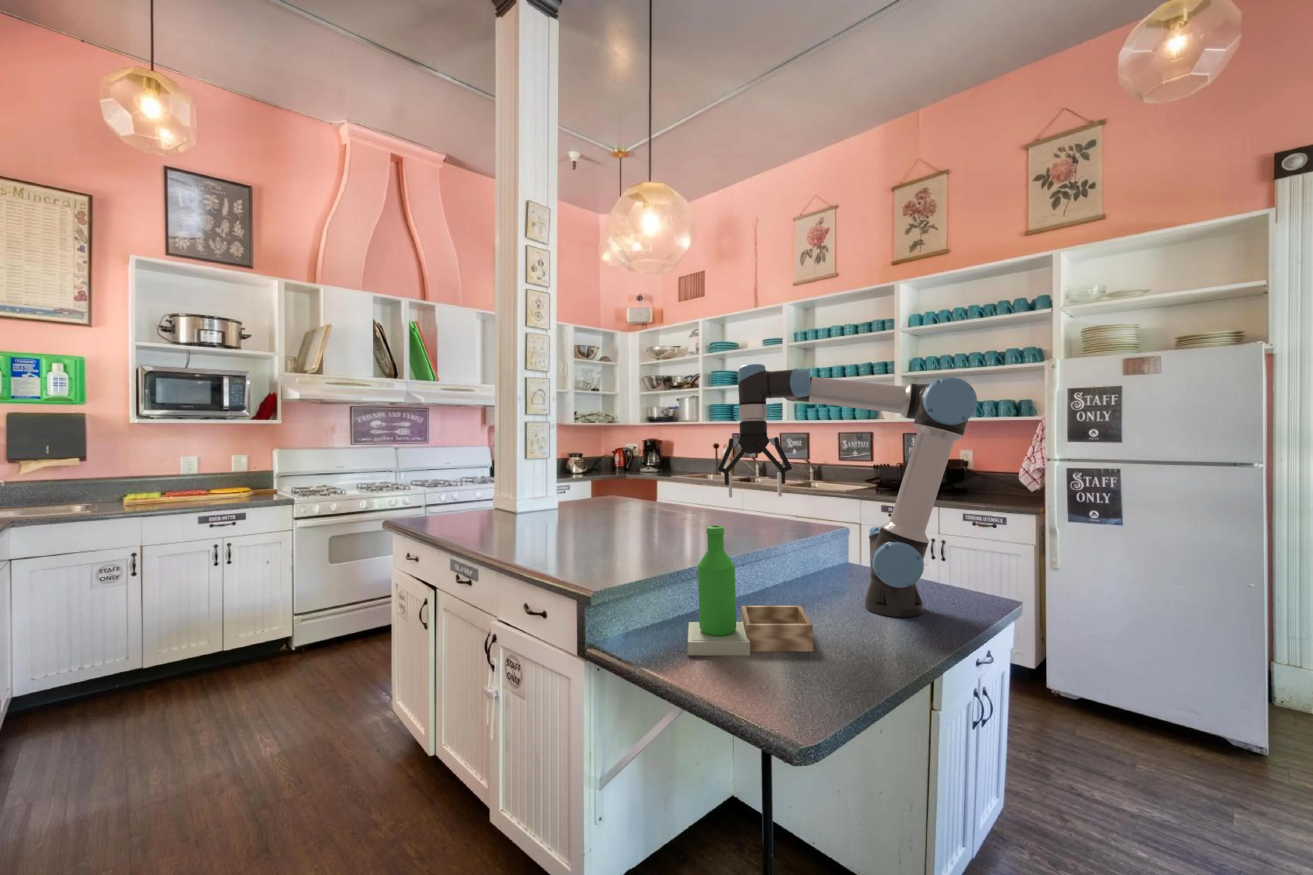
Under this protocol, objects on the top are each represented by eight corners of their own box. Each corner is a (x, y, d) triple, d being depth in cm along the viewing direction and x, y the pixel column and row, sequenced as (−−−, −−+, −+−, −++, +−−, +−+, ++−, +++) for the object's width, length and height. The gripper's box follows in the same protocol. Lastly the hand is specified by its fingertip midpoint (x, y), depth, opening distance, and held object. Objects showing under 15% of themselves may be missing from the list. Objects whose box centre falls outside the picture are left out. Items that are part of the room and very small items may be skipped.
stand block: (745, 633, 140) (744, 621, 140) (750, 655, 126) (749, 641, 126) (689, 633, 141) (688, 621, 141) (688, 655, 127) (687, 641, 127)
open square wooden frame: (801, 629, 142) (800, 605, 142) (813, 651, 127) (812, 625, 127) (741, 629, 143) (741, 605, 143) (747, 651, 128) (746, 625, 129)
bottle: (724, 639, 127) (721, 530, 127) (692, 632, 133) (689, 527, 133) (743, 628, 134) (740, 525, 135) (712, 622, 140) (709, 522, 140)
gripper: (796, 419, 159) (798, 494, 159) (707, 422, 161) (709, 495, 160) (800, 418, 151) (803, 496, 151) (708, 421, 153) (710, 498, 153)
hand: (755, 496), depth 156 cm, fingers open, 13 cm apart
